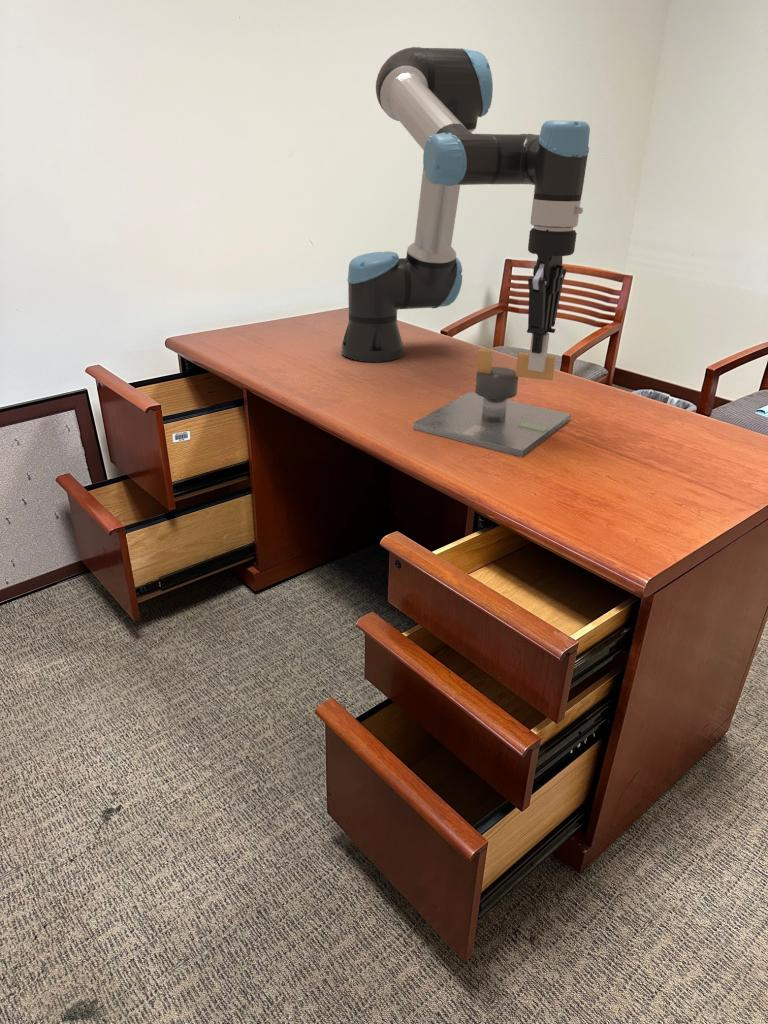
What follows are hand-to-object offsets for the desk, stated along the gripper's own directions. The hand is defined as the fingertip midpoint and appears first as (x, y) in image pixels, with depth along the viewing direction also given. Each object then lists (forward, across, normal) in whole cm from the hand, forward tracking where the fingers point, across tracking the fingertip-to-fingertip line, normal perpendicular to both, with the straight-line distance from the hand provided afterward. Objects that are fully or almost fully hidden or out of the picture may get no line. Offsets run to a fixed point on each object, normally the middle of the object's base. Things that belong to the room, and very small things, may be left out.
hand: (536, 369), depth 130 cm
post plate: (+12, 0, +7) cm, 14 cm away
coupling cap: (+6, +1, +4) cm, 7 cm away
